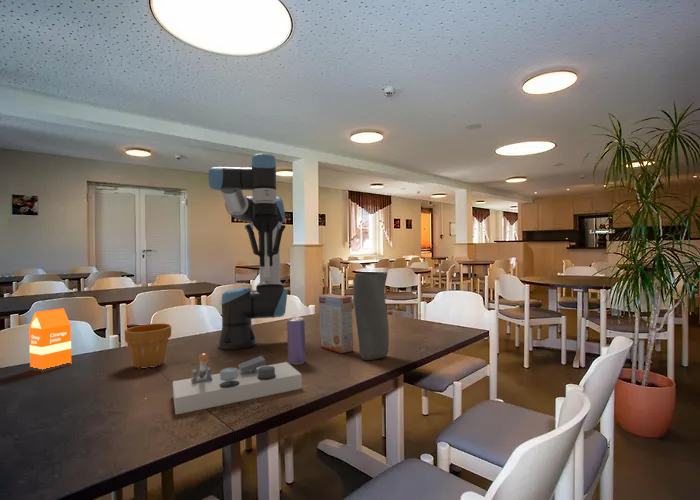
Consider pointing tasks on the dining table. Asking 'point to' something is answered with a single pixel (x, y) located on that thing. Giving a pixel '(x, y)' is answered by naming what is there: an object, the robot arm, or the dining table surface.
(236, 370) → the button
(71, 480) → the dining table surface
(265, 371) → the button
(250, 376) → the console
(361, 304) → the vase
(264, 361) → the block
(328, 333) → the cracker box
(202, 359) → the lever
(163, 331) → the flower pot
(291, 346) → the beverage can
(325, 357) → the dining table surface
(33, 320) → the orange juice
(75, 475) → the dining table surface
